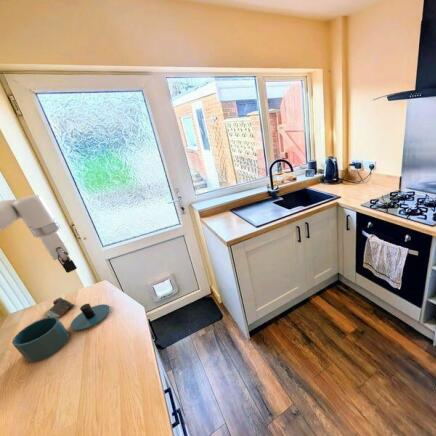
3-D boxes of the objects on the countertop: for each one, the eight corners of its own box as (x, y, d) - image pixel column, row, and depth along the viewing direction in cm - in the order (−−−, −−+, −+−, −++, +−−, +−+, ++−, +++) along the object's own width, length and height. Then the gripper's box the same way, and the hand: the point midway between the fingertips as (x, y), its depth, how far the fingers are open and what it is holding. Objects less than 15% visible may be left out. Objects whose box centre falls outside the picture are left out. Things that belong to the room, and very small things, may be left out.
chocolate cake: (39, 316, 108) (35, 308, 100) (53, 302, 113) (51, 293, 105) (62, 325, 110) (60, 318, 102) (75, 310, 115) (74, 302, 107)
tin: (32, 368, 84) (18, 351, 80) (21, 353, 90) (7, 337, 86) (74, 339, 93) (64, 323, 90) (62, 327, 99) (51, 312, 96)
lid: (80, 336, 94) (72, 324, 91) (66, 324, 101) (58, 312, 98) (116, 312, 104) (110, 300, 102) (101, 302, 111) (95, 291, 108)
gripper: (28, 228, 92) (53, 265, 100) (35, 239, 82) (61, 279, 89) (54, 220, 98) (75, 255, 105) (63, 229, 87) (86, 268, 94)
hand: (69, 266), depth 97 cm, fingers open, 9 cm apart
